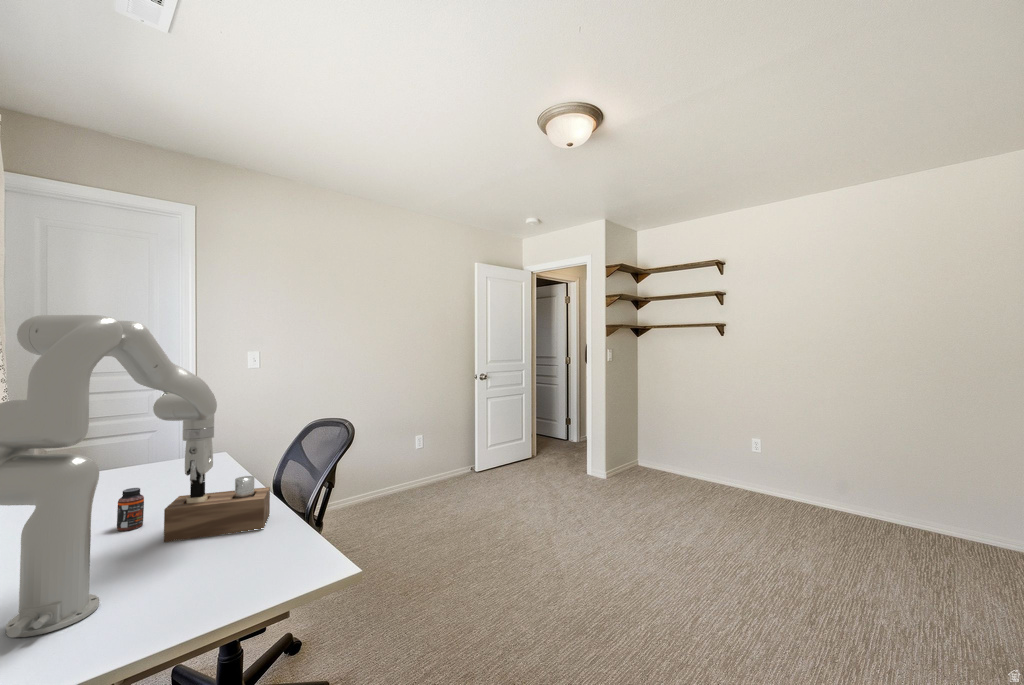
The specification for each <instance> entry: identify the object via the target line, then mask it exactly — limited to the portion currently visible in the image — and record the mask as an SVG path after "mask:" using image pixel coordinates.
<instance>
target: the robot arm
mask: <svg viewBox="0 0 1024 685" xmlns="http://www.w3.org/2000/svg"><path fill="white" fill-rule="evenodd" d="M16 337H17V338H16V339H17V342H18V343H19V345H20V346H21V347H22V349H24V350H26V351H27V352H28V353H31V354H34V355H37V356H40V357H39V358H38V359H37V360H36V361H35V362H34V364H33V366H32V367H31V369H30V371H29V373H28V379H27V392H26V399H12V400H6V401H2V402H0V506H8V507H9V506H10V507H11V506H35V508H34V510H33V512H32V514H30V516H29V517H28V518H27V520H26V522H25V523H24V525H23V527H22V529H21V534H20V560H19V563H20V564H19V565H20V566H19V588H18V590H19V593H18V594H19V595H18V614H17V615H14V617H12V619H10V620H9V621H8V622H7V623H6V624H5V625H6V626H5V634H6V635H7V637H8V638H13V639H14V638H27V637H34V636H39V635H43V634H48V633H51V632H54V631H58V630H61V629H63V628H66V627H68V626H72V625H73V624H76V623H78V622H80V621H81V620H83V619H85V618H87V617H89V616H90V615H91V614H92V613H94V612H95V611H96V610H97V609H98V607H99V605H100V597H99V596H97V595H95V594H91V593H90V575H91V573H90V571H91V570H90V567H91V540H92V538H91V537H92V510H93V502H94V498H95V494H96V490H97V487H98V484H99V479H100V467H99V465H98V464H97V462H96V461H95V460H94V459H92V458H91V457H88V456H85V455H83V454H76V453H75V454H74V453H44V454H35V449H36V450H37V449H38V450H39V449H44V450H45V449H61V448H62V449H63V448H68V447H72V446H75V445H78V444H79V443H81V442H83V440H84V439H85V438H86V437H87V434H88V431H89V427H90V426H89V425H90V384H91V383H90V382H91V376H92V373H93V371H94V369H95V368H96V366H97V365H98V363H99V362H100V361H101V360H102V359H103V358H104V357H112V358H115V359H116V360H117V362H119V363H120V365H121V366H122V367H123V368H124V369H125V371H126V372H127V373H128V375H129V376H130V377H131V378H132V379H133V381H134V382H136V383H137V384H139V386H140V385H141V386H143V387H147V388H149V389H153V390H156V391H161V392H164V393H165V392H166V393H167V394H163V395H161V396H160V397H159V398H157V399H156V400H155V402H154V403H153V406H152V408H153V409H152V411H153V414H154V415H155V416H156V418H158V419H160V420H162V421H168V422H170V421H171V422H172V421H173V422H180V421H181V422H182V442H183V441H184V442H185V451H184V452H185V454H184V474H185V476H187V477H188V476H189V482H190V488H189V489H190V492H189V493H190V494H189V495H190V497H191V498H195V497H203V496H204V495H205V493H206V474H207V473H208V472H209V471H210V470H211V469H212V468H213V467H214V450H213V449H214V448H213V439H214V438H215V414H216V412H217V408H218V403H217V398H216V396H215V393H214V392H213V391H212V389H211V388H210V387H209V385H208V384H207V382H205V380H203V379H202V378H201V377H200V376H197V375H196V374H194V373H192V372H190V371H189V370H187V369H186V368H183V367H181V366H180V365H177V364H175V363H174V362H173V361H171V359H170V358H169V356H168V355H167V354H166V352H165V351H164V350H163V348H162V347H161V345H160V344H159V342H158V341H157V340H156V338H155V337H154V335H153V334H152V333H151V331H150V329H148V328H147V327H146V325H144V324H143V323H140V322H137V321H132V320H117V319H115V318H113V317H109V316H106V315H96V314H41V315H40V314H39V315H35V316H31V317H29V318H27V319H25V320H24V321H23V322H22V323H21V324H20V325H19V327H18V329H17V333H16Z"/></svg>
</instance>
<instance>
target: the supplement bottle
mask: <svg viewBox="0 0 1024 685" xmlns="http://www.w3.org/2000/svg"><path fill="white" fill-rule="evenodd" d="M144 508H145V496H144V495H143V494H141V488H140V487H131V488H126V489H123V490H122V496H121V497H120V498H119V499H118V501H117V508H116V509H117V510H116V512H117V515H116V530H117V531H120V532H128V531H133V530H136V529H139V528H141V527H142V526H143V525H144V514H145V513H144V512H145V510H144Z"/></svg>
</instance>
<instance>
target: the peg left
mask: <svg viewBox="0 0 1024 685" xmlns="http://www.w3.org/2000/svg"><path fill="white" fill-rule="evenodd" d="M207 500H208V495H207V494H205V495H204V496H203V497H195V498H191V497H190V496H189V497H187V501H186V504H188V503H197V502H206V501H207Z"/></svg>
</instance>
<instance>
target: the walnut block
mask: <svg viewBox="0 0 1024 685" xmlns="http://www.w3.org/2000/svg"><path fill="white" fill-rule="evenodd" d="M205 494H207V495H208V500H207V501H206V502H197V503H188V504H186V501H187V497H189V496H190V494H187V495H179V496H177V497H176V498H175V499H174V500H173V501H172V502H171V503H170V504H168V505H167V506H166V507H164V509H163V510H164V513H163V515H164V516H163V543H169V542H177V541H184V540H190V539H191V540H192V539H193V540H194V539H199V538H205V537H215V536H216V537H217V536H223V535H222V534H224V535H229V534H228V533H232V534H237V533H236V532H240V533H242V532H241V531H247V532H249V531H248V530H254V529H261V528H264V529H265V527H266V525H265V523H266V524H267V522H268V520H267V519H269V518H270V515H269V514H270V509H271V508H270V507H271V499H270V498H271V487H270V486H268V487H258V488H257V487H254V497H245V498H235V490H226V491H218V492H217V491H216V492H215V491H214V492H208V493H207V492H205ZM268 517H269V518H268ZM266 521H267V522H266ZM264 526H265V527H264Z"/></svg>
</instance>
